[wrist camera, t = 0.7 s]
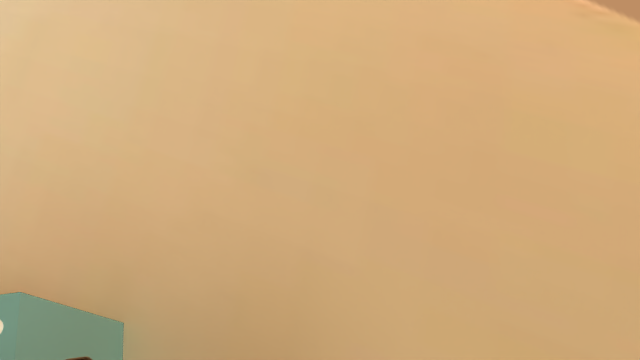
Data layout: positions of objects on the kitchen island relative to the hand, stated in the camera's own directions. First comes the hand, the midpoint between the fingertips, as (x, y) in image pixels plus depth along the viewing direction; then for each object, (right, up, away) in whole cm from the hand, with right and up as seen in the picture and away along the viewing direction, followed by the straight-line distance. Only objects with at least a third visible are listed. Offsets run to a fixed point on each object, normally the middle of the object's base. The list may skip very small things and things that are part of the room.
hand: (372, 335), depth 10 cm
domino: (-10, -6, +17) cm, 21 cm away
